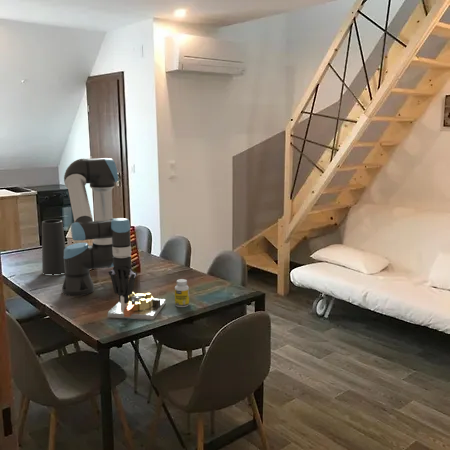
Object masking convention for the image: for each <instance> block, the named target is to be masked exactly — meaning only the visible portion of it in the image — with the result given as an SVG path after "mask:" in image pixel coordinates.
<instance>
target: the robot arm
mask: <svg viewBox="0 0 450 450" xmlns="http://www.w3.org/2000/svg"><path fill="white" fill-rule="evenodd" d="M63 181H64V186H65V187H66V188H67V189H68V195H69V201H70V206H71V211H72V212H71V213H72V216H73V220H74V222H72V223H71V224H70V233H71V238H72V240H73V241H88V240H92V245H89V243H88V242H75V243H73V244H70V245H68V246H65V247H66V248H65V249H64V264H65V274H64V280H63V284H62V288H61V289H62V292H63V293H64V295H65V294H66V296H69V295H70V296H69V297H72V296H73V297H77V296H85V295H89V294H91V293H93V292H94V291H95V284H94V282H93V279H92V277H91V275H90V270H97V269H106V268H108V269H109V268H112V269H111V270H109V271H108V275H109V277H110V280H111V285H112V287H113V291H114V294H117V295H118V302H120V303H121V311H124V309H125V308H126V307H127V303H128V302H129V297H128V296H129V295H130V294H132V293H133V292H134V287H135V282H136V278H137V276H138V273H137V272H134V271H133V268H132V256H131V255H132V245H131V244H132V243H131V224H130V223H131V222H130V219H128V218H126V217H125V218H124V217H117V218H114V217H113V189H114V188H115V187H116V183H118V181H119V174H118V168H117V164H116V163H115V160H114V159H113V158H110V157H109V158H108V157H99V158H98V157H97V158H96V157H95V158H94V157H93V158H79V159H76V160H73V162H71V163H70V164H69V166H68V167H66V170H65V172H64V175H63ZM87 184H89V188H90V189H92V192H93V208H94V210H93V211H94V219H93V215H92V211H91V206H90V202H89V197H88V193H87V189H86V188H87V187H86V185H87ZM63 293H62V294H63Z"/></svg>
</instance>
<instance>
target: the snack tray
mask: <svg viewBox="0 0 450 450" xmlns="http://www.w3.org/2000/svg"><path fill="white" fill-rule="evenodd" d="M135 295H141V296H143V299H140V302H135V300H132V299H131V297H132V296H135ZM128 297H129V302H128V303H127V307H126V308H125V309H124V317H130V316H131V315H132V314H133V313H134V312H135V311H138V310H145V309H149V308H151V307H152V306H153V303H152V299H154V298H155V297H153V295H152V293H151V292H146V293H135V292H134V291H133V293H132V294H130V295H129V296H128Z"/></svg>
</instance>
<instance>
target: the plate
mask: <svg viewBox="0 0 450 450" xmlns="http://www.w3.org/2000/svg"><path fill="white" fill-rule="evenodd" d="M153 298H154V299H152V303H153V306H152V307H151V308H149V309H145V310H138V311H135V312H134V313H133V314H132V315H131V316H130V317H124V311H121V303H120V302H119V301H117V303H116V304H115V305H114V306H113V307H111V309H110V310H109V311H108V312H107V318H117V319H118V318H119V319H132V320H133V319H135V320H150V321H153V320H155V318H156V317H157V316H158V314H159V312H160V311H161V310H162V309H163V307H164V306H165V305H166V299H165V298H155V297H153ZM131 299H132V300H135V302H140V299H143V296H141V295H135V296H132V297H131Z"/></svg>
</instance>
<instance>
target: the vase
mask: <svg viewBox="0 0 450 450" xmlns="http://www.w3.org/2000/svg"><path fill="white" fill-rule="evenodd" d="M66 247H67V246H66V239H65V232H64V224H63V220H62V219H46V220H43V221H41V253H42V255H41V256H42V257H41V260H42V269H41V271H42V274H43V273H44V274H52V275H54V274H61V273H65V264H64V249H65V248H66Z"/></svg>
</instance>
